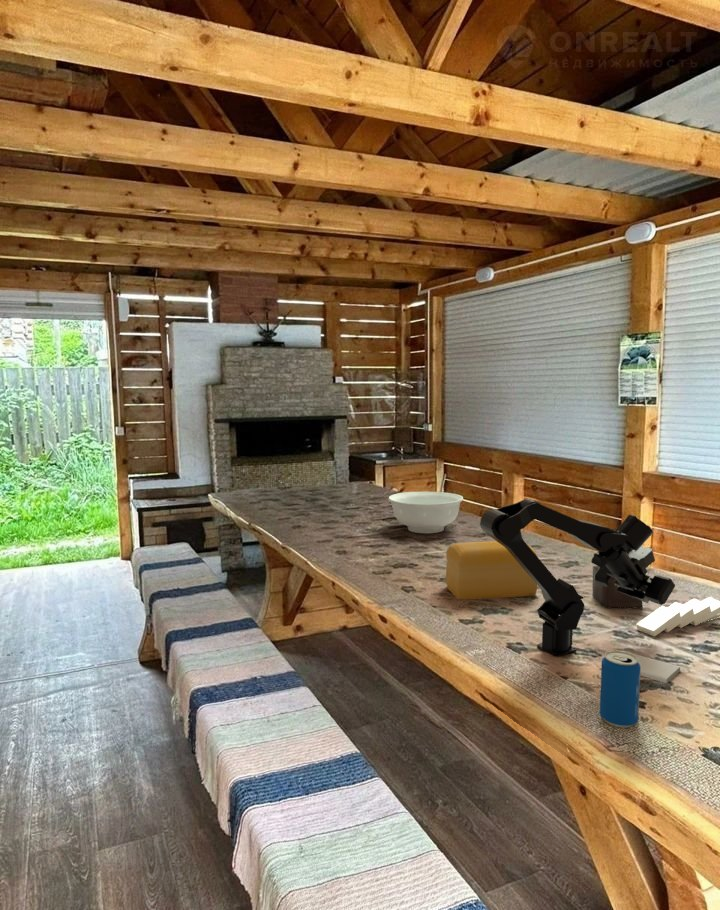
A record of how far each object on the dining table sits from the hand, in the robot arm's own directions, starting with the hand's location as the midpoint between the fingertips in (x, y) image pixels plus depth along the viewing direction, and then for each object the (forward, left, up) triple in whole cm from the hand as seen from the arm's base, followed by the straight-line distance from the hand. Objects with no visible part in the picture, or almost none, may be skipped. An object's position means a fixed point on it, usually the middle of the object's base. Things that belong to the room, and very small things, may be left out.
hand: (647, 601), depth 152 cm
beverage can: (-41, -24, -8) cm, 48 cm away
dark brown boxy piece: (+14, +21, -8) cm, 27 cm away
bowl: (+19, +122, -8) cm, 124 cm away
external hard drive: (-18, -12, -9) cm, 23 cm away
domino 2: (+5, 0, -7) cm, 9 cm away
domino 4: (+15, -1, -7) cm, 17 cm away
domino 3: (+10, 0, -7) cm, 13 cm away
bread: (-11, +44, -8) cm, 47 cm away
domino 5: (+17, 0, -8) cm, 19 cm away
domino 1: (0, 0, -7) cm, 7 cm away
